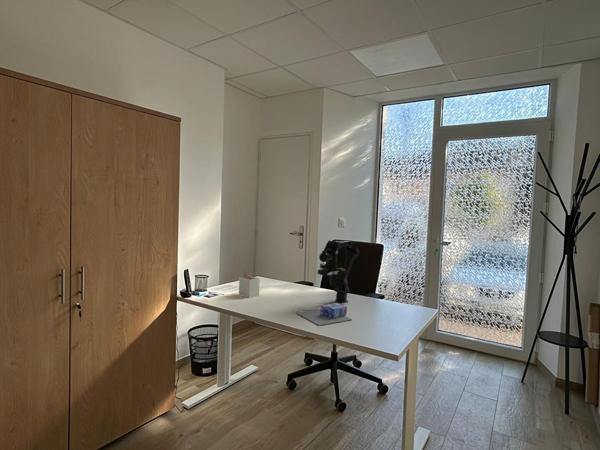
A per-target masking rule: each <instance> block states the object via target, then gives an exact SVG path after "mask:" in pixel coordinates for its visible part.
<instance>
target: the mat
mask: <svg viewBox="0 0 600 450" xmlns="http://www.w3.org/2000/svg"><path fill="white" fill-rule="evenodd" d="M320 309H321V308H316V309H311V310H304V311H297V312H295V314H296V315H298V316H300V317H301V318H304V319H305V320H307V321H310V322H311V323H313V324H314V325H316V326H318V327H322V326H326V325H333V324H337V323H338V324H340V323H344V322H350V321H353V319H352V318H350V317H348V316H347V315H345V316H341V317H337V318H332V319H331V318H329V317H326V316H323V315H321V314H320Z"/></svg>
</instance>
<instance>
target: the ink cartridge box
mask: <svg viewBox="0 0 600 450" xmlns="http://www.w3.org/2000/svg"><path fill="white" fill-rule="evenodd" d="M319 309H320V314H321V315H323V316H326V317H329V318H331V319H332V318H337V317H341V316H347V312H348V306H347V305H343V304H341V303H339V302H338V303H337V302H334V303H333V302H332V303H329V304H322V305H320V308H319Z"/></svg>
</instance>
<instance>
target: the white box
mask: <svg viewBox="0 0 600 450" xmlns="http://www.w3.org/2000/svg"><path fill="white" fill-rule="evenodd" d="M238 280H239V281H238V296H240V297H241V296H242V297H245V298H249V299H251V298H255V297H259V296H260V281H261V280H260V277H255V276H251V275H248V274H247V273H246V271H245V270H244V271H243V277H240V276H239V279H238Z"/></svg>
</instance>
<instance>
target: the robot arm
mask: <svg viewBox="0 0 600 450" xmlns="http://www.w3.org/2000/svg"><path fill="white" fill-rule="evenodd" d="M341 248H344V250H345V255H346V259H345V262H344V264H343V267H338V266H337V265H339V262H337V261H338V254H339V253H340V252H339V251H340V250H341ZM338 250H339V251H338ZM360 253H361V251H360V248H359V247H358V245H357V244H356V243H354V241H353V240H352V239H350V240H349V239H345V240H340V241H339V240H328V241H327V242H326V244H325V247H324V249H323V250H322V252H321V253H320V254H319V257H318V259H319V260H320V262H321V263H320V265H319V269H318V270H317V275H320V276H327V279H328V281H329V284H330V286H333V289H334V292H335V293H336V294H335V299H334V301H336V303H337V302H338V303H339V304H341V303H349V300H348V299H347V298H348V297H347V296H348V294H349V293H350V291H351V290H350V287H349V286H348V285H349V282H348V277H349V275H350V272H351V269H352V267H353V266H352V265H353V263H354V260H356V259H357V258H358V256H359V255H360ZM339 273H340V274H339ZM338 276H339V277H338Z"/></svg>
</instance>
